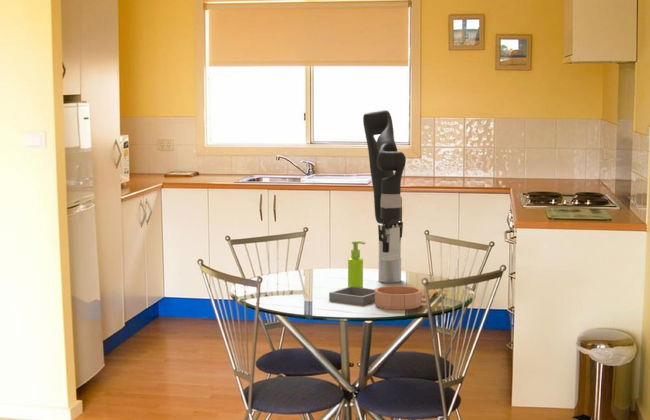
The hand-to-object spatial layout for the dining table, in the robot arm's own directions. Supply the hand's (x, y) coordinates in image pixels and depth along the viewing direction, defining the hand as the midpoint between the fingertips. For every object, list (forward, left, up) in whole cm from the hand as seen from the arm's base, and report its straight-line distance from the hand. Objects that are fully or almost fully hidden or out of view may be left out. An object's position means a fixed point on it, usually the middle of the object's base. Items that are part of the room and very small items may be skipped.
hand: (390, 251), depth 346 cm
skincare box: (0, 0, -3) cm, 3 cm away
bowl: (-1, +3, -20) cm, 20 cm away
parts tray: (-1, -15, -20) cm, 25 cm away
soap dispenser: (-14, -23, -20) cm, 34 cm away
